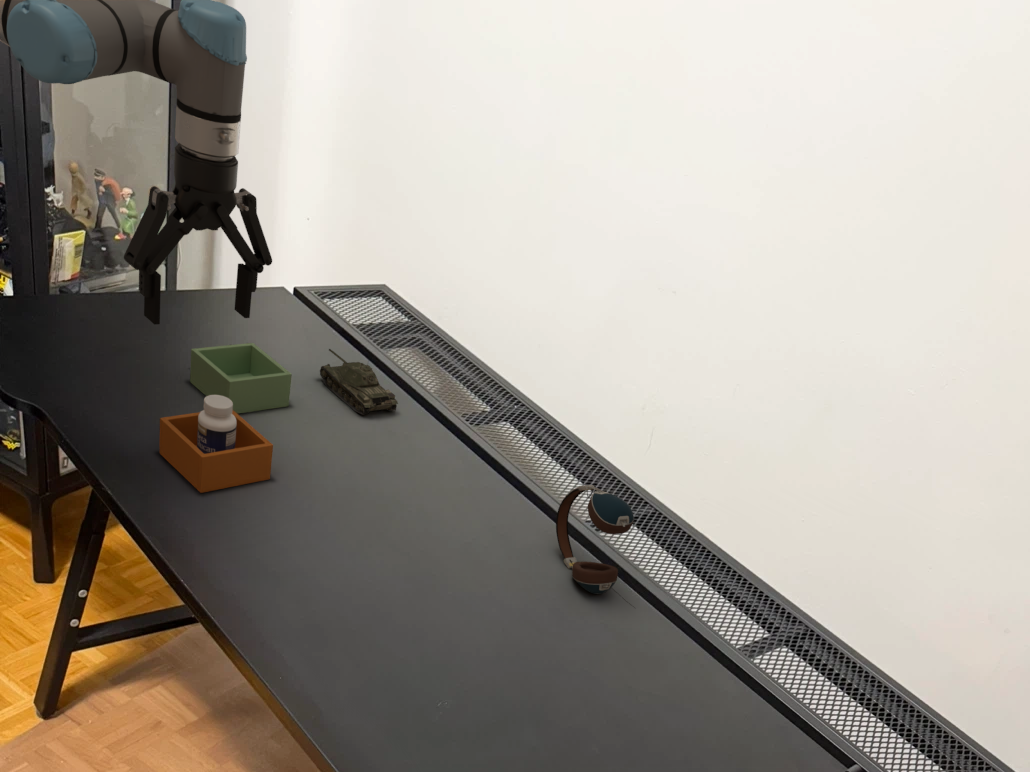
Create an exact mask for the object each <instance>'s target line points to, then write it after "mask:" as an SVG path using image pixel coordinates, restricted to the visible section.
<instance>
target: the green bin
mask: <svg viewBox="0 0 1030 772" xmlns="http://www.w3.org/2000/svg"><path fill="white" fill-rule="evenodd" d="M189 375H190V376H189V382H190V383H191V384H192V385H193V386H194V388H196V389H197V390H199V391H200V392H201V393H202V394H203V395H204V396H205V397H207V396H209V395H221V396H224V397H227V398H229V399H230V400H231V401H232V403H233V411H235V412H236V413H237V414H238V415H240V414H243V413H252V412H258V411H265V410H271V409H278V408H285V407H289V404H290V397H291V396H290V395H291V385H292V375H293V373H291V372H290V371H289V370H287V369H286V368H285V367H284V366H282V365H281V364H280V363H279V362H278V361H276V360H275V359H274V358H273V357H271V356H270V355H269V354H267V352H265V351H264V350H263V349H261V348H260V347H259V345H257V344H256V343H254V342H248V343H237V344H228V345H227V344H226V345H217V346H216V345H215V346H207V347H196V348H191V349H190V374H189Z"/></svg>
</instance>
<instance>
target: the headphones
mask: <svg viewBox="0 0 1030 772" xmlns="http://www.w3.org/2000/svg"><path fill="white" fill-rule="evenodd" d="M591 490H592V491H591ZM585 491H586V496H587V498H588V499H589V501H588V504H587V513H588V516H589V518H590V521H591V522H592V524H593V525H594V527H595V528H597V530H599V531H601V532H602V533H605V534H608V535H622V534H625V533H627V532H629V531H630V530H631V528H632V526H633V524H634V522H635V516H634V512H633V510H632V508H631V506H630V504H628V503H627V502H626V501H625V500H623V499H622V498H620V497H619V496H617V495H615V494H613V493H610V492H608V491H603V490H602V489H600V488H598V487H595V485H593V484H585V485H584V484H583V485H578V486H577V487H574V488H573V489H572V490H570V491H569V492H568V493H567V494H565V496H564V498H563V499H562V501H561V502H560V504H559V506H558V508H557V512H556V517H555V529H556V530H555V532H556V540H557V544H558V547H559V551H560V552H561V555H562V557H563V563H564V564H565V565H566V567H567V569H572V570H571V576H572V578H573V579H574V580H575V581H576V583H577V584H578V585H579V586H580V587H582V589H584V590H585V591H587V592H588V593H591V594H594V595H600V594H604V593H606V592H607V591H609V590H610V589H612V590H613V591H614V592H615V593H616V594H618V591H616V590H615V589H614V588H613V586H614V585H615V584H616V582H617V581H618V577H619V569H618V568H617V567H616V566H614V565H610V564H607V563H601V562H595V561H588V560H587V561H586V560H585V561H577V557H575V556H574V553H573V549H572V545H571V541H570V535H569V514H570V511H571V508H572V506H573V504H574V502H575V500H576V499H577V498H578V497H579V496H580V495H581V494H582V493H584V492H585ZM588 491H591V493H590V494H589V493H588ZM620 597H621V598H622V599H623V600H624V601H625V602H626V603H628V604H629V605H630V606H632V607H633V608H634V609H637V608H636V607H635V606H634V605H632V604H631V603H630V602H628V601H627V600H626V599H624V597H623V596H622V595H620Z"/></svg>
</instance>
